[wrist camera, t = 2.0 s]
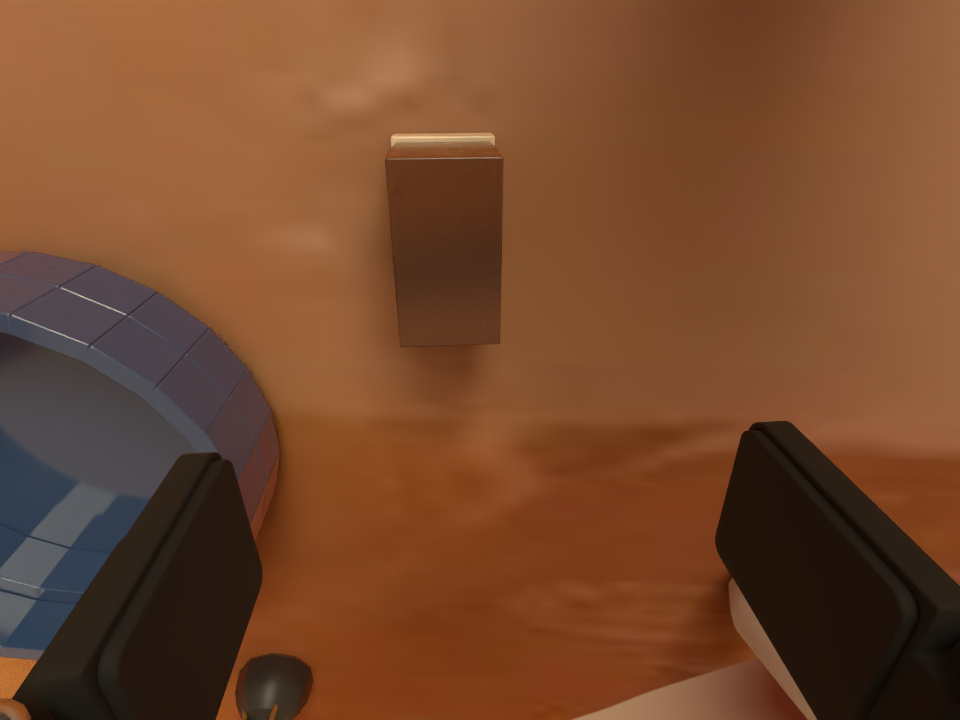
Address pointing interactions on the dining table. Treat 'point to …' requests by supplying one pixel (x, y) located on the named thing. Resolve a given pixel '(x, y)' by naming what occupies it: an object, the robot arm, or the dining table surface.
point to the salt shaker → (763, 647)
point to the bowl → (103, 427)
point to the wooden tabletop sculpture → (273, 688)
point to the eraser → (446, 237)
